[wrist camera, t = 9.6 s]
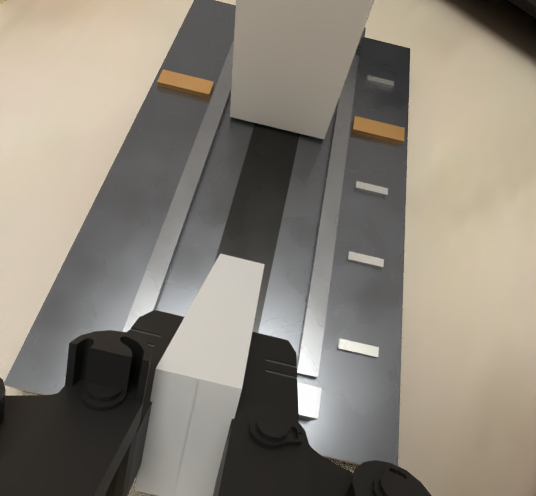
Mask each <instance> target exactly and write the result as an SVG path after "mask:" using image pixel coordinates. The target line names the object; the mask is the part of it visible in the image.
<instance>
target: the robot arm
mask: <svg viewBox="0 0 536 496" xmlns="http://www.w3.org/2000/svg"><path fill="white" fill-rule="evenodd" d="M264 265H265V264H261V263H257V262H253V261H249V260H245V259H241V258H237V257H233V256H228V255H224V254H220V255H219V257H218V258H217V260H216V262H215V264H214V266H213V267H212V269H211V271H210V273H209V275H208V276H207V278H206V280H205V282H204V283H203V285H202V287H201V289H200V291H199V292H198V294H197V296H196V298H195V299H194V301H193V303H192V305H191V307H190V308H189V310H188V312H187V314H186V315H185V317H183V316H179V315H174V314H170V313H166V312H162V311H158V310H153V311H151V312H149V313H147V314H145V315H143V316H140V317H139V318H138V319H137V321H136V322H135V323H134V324H133V326H132V327H131V329H130V330H129V331H128V332H121V331H113V330H106V331H94V332H91V333H87V334H84V335H81V336H79V337H77V338H76V339H74V340H73V341H71V342H70V343H69V350H68V360H67V370H66V380H65V386H64V387H63V388H62V389H61V390H60V392H59V393H57V394H52V395H39V396H5V386H4V382H3V380H2V379H1V378H0V496H127V495H128V493H129V491H130V488H131V486H132V484H133V482H134V479H135V477H136V482H135V487H134V490H135V491H139V492H143V493H148V494H152V495H156V496H431V494H430V493H429V492H428V491H427V489H426V488H425V487H424V486H423V485H422V483H421V482H420V481H419V480H417V479H416V478H415V477H414V476H412V475H411V474H410V473H409V472H407V471H406V470H404V469H402V468H400V467H398V466H396V465H394V464H392V463H388V462H383V461H378V460H373V461H367V462H363V463H362V464H361V465H360V466H358V467H357V468H356V469H355V471H354V473H352V472H350V471H348V470H346V469H344V468H342V467H340V466H338V465H336V464H334V463H332V462H331V461H329V460H327V459H326V458H324V457H323V456H321V455H320V454H319V453H317V452H316V451H315V450H314V449H313V448H312V447H311V446H310V445H309V442H308V438H307V435H306V432H305V429H304V428H303V427H302V426H301V424H300V423H299V412H298V384H297V368H296V367H297V356H296V351H295V350H294V348H293V347H292V345H291V344H290V342H289V341H288V340H285V339H281V338H277V337H273V336H269V335H264V334H260V333H256V332H252V331H253V325H254V320H255V314H256V309H257V303H258V298H259V292H260V287H261V281H262V276H263V270H264ZM136 475H137V476H136Z"/></svg>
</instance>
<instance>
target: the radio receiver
mask: <svg viewBox="0 0 536 496" xmlns="http://www.w3.org/2000/svg"><path fill="white" fill-rule="evenodd" d="M508 1H509V2H511V3H512V4H514V5H515V6H517V7H519V8H520V9H522V10H523V11H525V12H526V13H528V14H529V15H531V16H533V17H534V18H536V0H508Z"/></svg>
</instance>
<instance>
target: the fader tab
mask: <svg viewBox="0 0 536 496" xmlns="http://www.w3.org/2000/svg"><path fill="white" fill-rule="evenodd" d="M373 2H374V0H236V12H235V31H234V49H233V67H232V86H231V104H230V117H233V118H237V119H241V120H245V121H249V122H254V123H258V124H262V125H266V126H270V127H274V128H279V129H283V130H287V131H291V132H295V133H299V134H304V135H308V136H312V137H316V138H320V139H324V138H325V136H326V133H327V130H328V127H329V124H330V122H331V119H332V116H333V113H334V111H335V108H336V105H337V102H338V99H339V97H340V94H341V91H342V88H343V85H344V83H345V80H346V77H347V74H348V72H349V69H350V66H351V63H352V60H353V58H354V55H355V52H356V49H357V47H358V44H359V41H360V38H361V35H362V33H363V30H364V27H365V24H366V22H367V19H368V16H369V13H370V10H371V8H372V5H373Z"/></svg>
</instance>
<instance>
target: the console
mask: <svg viewBox="0 0 536 496" xmlns="http://www.w3.org/2000/svg"><path fill="white" fill-rule="evenodd" d="M235 12H236V6H235V5H231V4H227V3H223V2H219V1H215V0H194V2H193V4H192V6H191V8H190V10H189V12H188V14H187V16H186V18H185V20H184V22H183V24H182V26H181V28H180V30H179V32H178V34H177V36H176V38H175V40H174V42H173V44H172V46H171V48H170V50H169V52H168V54H167V56H166V58H165V60H164V62H163V64H162V66H161V68H160V70H159V72H158V74H157V76H156V78H155V80H154V82H153V84H152V86H151V88H150V90H149V92H148V94H147V96H146V98H145V100H144V102H143V104H142V106H141V108H140V110H139V112H138V114H137V116H136V118H135V120H134V123H133V125H132V127H131V129H130V131H129V133H128V135H127V137H126V139H125V141H124V143H123V145H122V147H121V149H120V151H119V153H118V155H117V157H116V159H115V161H114V163H113V165H112V167H111V169H110V171H109V173H108V175H107V177H106V179H105V181H104V183H103V185H102V187H101V189H100V191H99V193H98V195H97V197H96V199H95V201H94V203H93V205H92V207H91V209H90V211H89V213H88V215H87V217H86V219H85V221H84V223H83V225H82V227H81V229H80V231H79V233H78V235H77V237H76V239H75V241H74V243H73V245H72V247H71V249H70V251H69V253H68V255H67V257H66V259H65V261H64V263H63V265H62V268H61V270H60V272H59V274H58V276H57V278H56V280H55V282H54V284H53V286H52V288H51V290H50V292H49V294H48V296H47V298H46V300H45V302H44V304H43V306H42V308H41V310H40V312H39V314H38V316H37V318H36V320H35V322H34V324H33V326H32V328H31V330H30V332H29V334H28V336H27V338H26V340H25V342H24V344H23V346H22V348H21V350H20V352H19V354H18V356H17V358H16V360H15V362H14V364H13V366H12V368H11V370H10V372H9V374H8V376H7V378H6V380H5V382H4V385H6V386H9V387H12V388H15V389H18V390H21V391H25V392H30V393H34V394H39V395H52V394H57V393H59V392H60V390H61V389H62V388H63V387H64V386H65V380H66V370H67V360H68V350H69V343H70V342H71V341H73V340H74V339H76V338H77V337H79V336H81V335H84V334H87V333H91V332H94V331H106V330H113V331H121V332H128V331H129V330H130V329H131V327H132V326H133V324H134V323H135V322H136V321H137V319H138V318H139V317H140V316H143V315H145V314H147V313H149V312H151V311H153V310H158V311H162V312H166V313H170V314H174V315H179V316H183V317H185V315H186V314H187V312H188V310H189V308H190V307H191V305H192V303H193V301H194V299H195V298H196V296H197V294H198V292H199V291H200V289H201V287H202V285H203V283H204V282H205V280H206V278H207V276H208V275H209V273H210V271H211V269H212V267H213V266H214V264H215V262H216V260H217V258H218V257H219V255H220V254H224V255H228V256H233V257H237V258H241V259H245V260H249V261H253V262H257V263H261V264H265V265H264V270H263V276H262V281H261V287H260V292H259V298H258V303H257V309H256V314H255V320H254V325H253V331H252V332H256V333H260V334H264V335H269V336H273V337H277V338H281V339H285V340H288V341H289V342H290V344H291V345H292V347H293V348H294V350H295V351H296V356H297V367H296V368H297V384H298V412H299V423H300V424H301V426H302V427H303V428H304V429H305V432H306V435H307V438H308V442H309V445H310V446H311V447H312V448H313V449H314V450H315V451H316V452H317V453H319V454H320V455H321V456H323V457H324V458H328V459H332V460H337V461H341V462H346V463H350V464H355V465H359V466H360V465H361V464H362V463H363V462H367V461H373V460H378V461H383V462H388V463H392V464H394V465H396V466H398V440H399V406H400V373H401V339H402V305H403V272H404V238H405V204H406V171H407V137H408V103H409V70H410V48H406V47H402V46H398V45H394V44H389V43H385V42H381V41H377V40H373V39H369V38H365V37H364V36H365V27H364V30H363V33H362V35H361V38H360V41H359V44H358V47H357V49H356V52H355V55H354V58H353V60H352V63H351V66H350V69H349V72H348V74H347V77H346V80H345V83H344V85H343V88H342V91H341V94H340V97H339V99H338V102H337V105H336V108H335V111H334V113H333V116H332V119H331V122H330V124H329V127H328V130H327V133H326V136H325V138H324V139H320V138H316V137H312V136H308V135H304V134H299V133H295V132H291V131H287V130H283V129H279V128H274V127H270V126H266V125H262V124H258V123H254V122H249V121H245V120H241V119H237V118H233V117H230V104H231V86H232V67H233V49H234V31H235Z"/></svg>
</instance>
